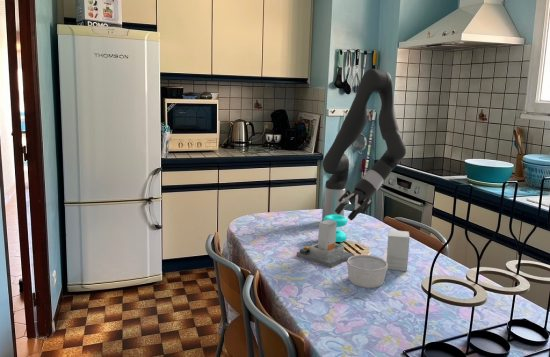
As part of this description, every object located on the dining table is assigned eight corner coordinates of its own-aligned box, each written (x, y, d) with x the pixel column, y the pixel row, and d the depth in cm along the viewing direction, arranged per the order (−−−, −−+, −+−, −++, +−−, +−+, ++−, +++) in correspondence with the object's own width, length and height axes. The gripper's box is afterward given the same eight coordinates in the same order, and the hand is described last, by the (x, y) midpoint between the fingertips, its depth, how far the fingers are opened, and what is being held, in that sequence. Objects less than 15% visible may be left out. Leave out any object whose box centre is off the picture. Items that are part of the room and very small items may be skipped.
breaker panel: (296, 255, 175) (296, 245, 175) (318, 247, 186) (319, 237, 185) (330, 267, 165) (331, 257, 164) (352, 257, 175) (353, 247, 174)
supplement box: (407, 264, 170) (409, 231, 167) (407, 271, 163) (409, 237, 160) (386, 261, 172) (388, 229, 169) (385, 269, 165) (388, 235, 162)
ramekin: (386, 292, 147) (388, 271, 145) (344, 287, 149) (346, 267, 148) (385, 275, 159) (387, 256, 158) (346, 271, 162) (348, 252, 161)
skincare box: (326, 255, 172) (328, 224, 170) (317, 252, 175) (318, 222, 173) (335, 251, 177) (337, 221, 175) (326, 248, 180) (327, 219, 177)
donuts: (319, 214, 196) (340, 212, 199) (318, 237, 198) (338, 235, 201) (330, 221, 187) (352, 219, 190) (329, 244, 189) (350, 242, 192)
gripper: (353, 174, 184) (327, 205, 181) (376, 182, 171) (348, 214, 169) (362, 186, 187) (337, 216, 184) (386, 194, 175) (359, 227, 172)
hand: (342, 215), depth 176 cm, fingers open, 8 cm apart
